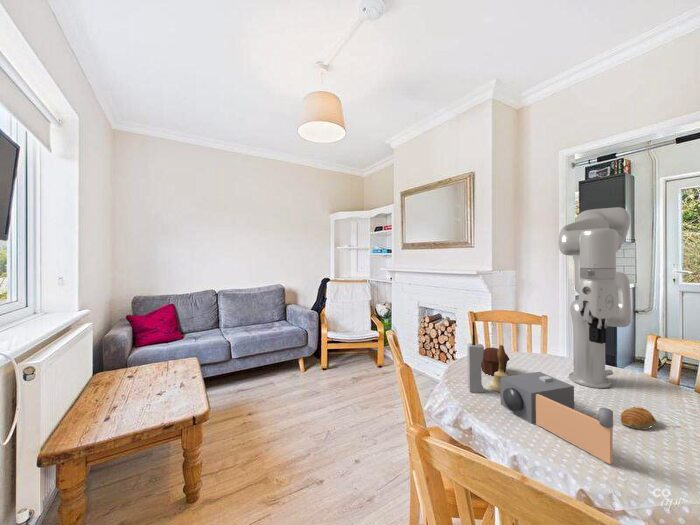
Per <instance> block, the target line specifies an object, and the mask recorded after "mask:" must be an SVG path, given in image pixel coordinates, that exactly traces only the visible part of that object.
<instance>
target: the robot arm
mask: <svg viewBox="0 0 700 525" xmlns="http://www.w3.org/2000/svg"><path fill="white" fill-rule="evenodd" d="M630 217H631V216H630V214H629V212H628V210H626V209H625V208H624V207H620V206H619V207H618V206H617V207H615V206H614V207H607V208H594V209H592V208H591V209H586V210H584V211H582V212H580V213H578V215H577V216H576V217H575V220H574V222H572V223H569V224H566V225H564V226H563V227H562V228H561V229H560V231H559V235H558V248H559V251H560V253H561V254H562V255H565V256H569V257H571V256H572V258H573V262H574V263H573V265H574V266H573V267H574V270H573V271H574V275H573V276H574V289H575V292H576V293H577V294H578V299H575V300H574V301H572V302H571V304H570V308H569V309H570V310H569V312H570V316H571V321H572V332H573V335H572V337H573V339H572V340H573V341H572V342H573V343H572V344H573V348H572V349H573V350H572V351H573V358H572V359H573V361H572V362H573V372H569V373H568V379H569V380H570V381H571V382H574V383H576V384H578V385H581V386H586V387H589V388H595V389H607V388H610V387H611V386H612V382H611V381H610V379H607V377H608V376H612V375H614V372H613V370H611V369H606V343H607V328H608V327H614V328H615V327H616V328H626V327H629V326H630V324H631V322H632V301H631V298H632V297H631V285H630V279H629V278H628V275H627V274H625V273H624V272H621V271H617V252H618V251H619V250H620V249H621V248H622V245H623V244H624V243H625V242H626V240H627V235H628V233H629V229H630V225H631V218H630Z"/></svg>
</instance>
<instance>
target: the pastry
mask: <svg viewBox="0 0 700 525" xmlns="http://www.w3.org/2000/svg"><path fill="white" fill-rule="evenodd" d="M620 421H621V424H622V425H623V426H627V427H629V428H632V429H635V428H637V429H636V430H640V429H639V428H648V429H650V428H651V427H650V426H653V427H655V425H657V423H658V422H657V419H656V418H655V417H654V416H653V414H652V413H651V412H650V411H649V410H648V409H646V408H643V407H637V406H633V407H630V408H627V409H625V410H623V411H622V412H621V414H620ZM654 424H655V425H654ZM649 427H650V428H649Z"/></svg>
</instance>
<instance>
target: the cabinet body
mask: <svg viewBox="0 0 700 525" xmlns="http://www.w3.org/2000/svg"><path fill="white" fill-rule="evenodd" d="M500 379H501V392H500V405H501V406H503V407H504V408H505V409H508V410H509V411H511V412H512V413H513V414H516V415H517V416H519V417H520V418H522V419H523V420H524V421H526V422H528V423H530V424H531V425H533V424H536V394H539V395H542V396H544V397H546V398H548V399H551V400H553V401H555V402H558V403H560V404H562V405H564V406H567V407H569V408H571V409H573V410H575V386H574V385H573V384H570V383H568V382H565V381H562V380H560V379H557V378H556V377H553V376H551V375H548V374H546V373H544V372H541V371H534V372H527V373H520V374H514V375H508V376H506V377H500Z"/></svg>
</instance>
